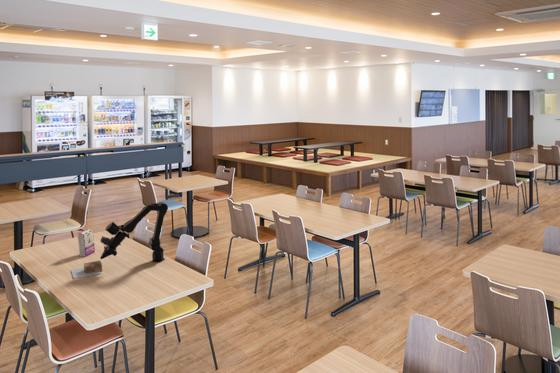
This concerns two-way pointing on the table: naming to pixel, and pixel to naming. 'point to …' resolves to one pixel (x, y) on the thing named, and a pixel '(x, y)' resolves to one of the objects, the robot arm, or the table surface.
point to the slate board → (82, 273)
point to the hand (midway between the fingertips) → (100, 258)
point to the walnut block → (92, 267)
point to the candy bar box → (86, 243)
